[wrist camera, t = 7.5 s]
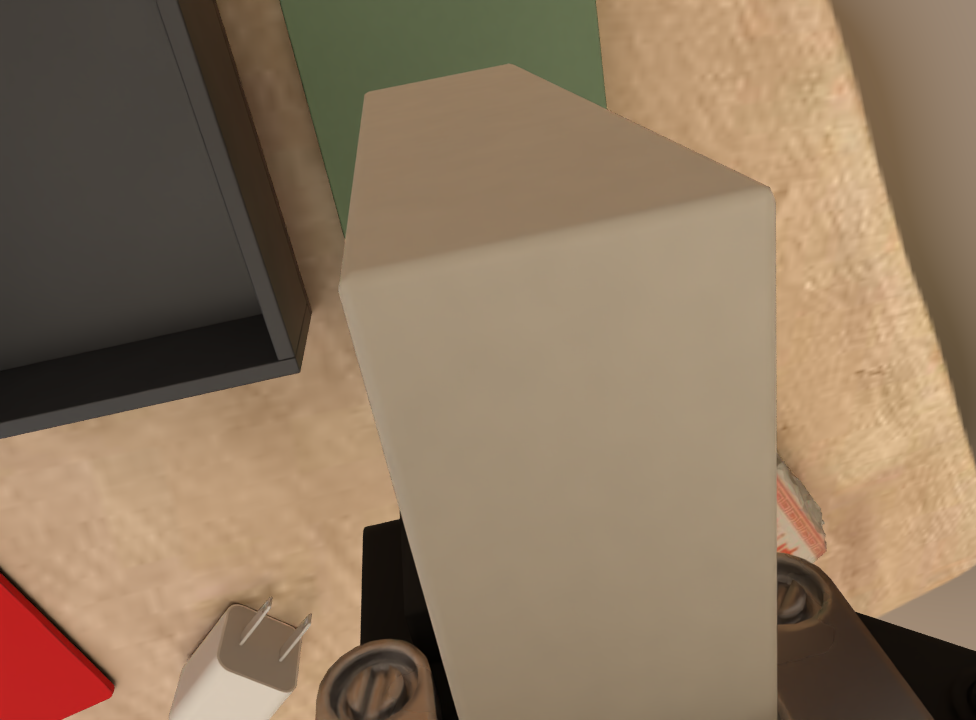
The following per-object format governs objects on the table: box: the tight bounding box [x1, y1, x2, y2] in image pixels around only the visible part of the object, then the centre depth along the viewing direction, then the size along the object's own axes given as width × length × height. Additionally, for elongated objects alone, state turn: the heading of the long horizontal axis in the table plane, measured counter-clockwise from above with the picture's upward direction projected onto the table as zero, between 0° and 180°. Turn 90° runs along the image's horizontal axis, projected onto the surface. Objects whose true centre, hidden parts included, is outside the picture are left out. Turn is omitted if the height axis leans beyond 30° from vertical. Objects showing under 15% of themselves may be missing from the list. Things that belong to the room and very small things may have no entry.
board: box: [338, 64, 777, 720], centre depth 10 cm, size 13×2×8 cm, turn 10°
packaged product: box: [777, 453, 826, 563], centre depth 36 cm, size 18×5×10 cm
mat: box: [279, 0, 607, 238], centre depth 29 cm, size 22×10×1 cm, turn 10°
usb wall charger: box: [169, 597, 312, 720], centre depth 35 cm, size 4×7×4 cm, turn 143°
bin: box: [0, 0, 312, 439], centre depth 24 cm, size 17×14×6 cm
